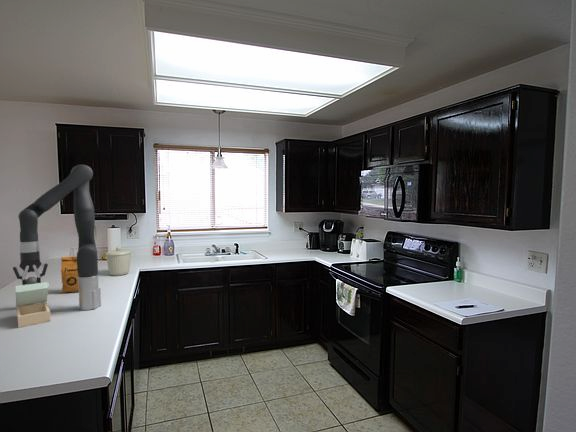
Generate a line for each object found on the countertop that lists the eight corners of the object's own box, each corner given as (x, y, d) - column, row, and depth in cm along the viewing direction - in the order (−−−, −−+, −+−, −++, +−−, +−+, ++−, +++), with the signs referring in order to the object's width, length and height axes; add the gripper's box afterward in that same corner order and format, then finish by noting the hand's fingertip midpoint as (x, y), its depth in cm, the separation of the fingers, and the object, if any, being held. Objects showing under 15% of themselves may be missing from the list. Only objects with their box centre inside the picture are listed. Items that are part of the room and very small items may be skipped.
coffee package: (83, 292, 213) (81, 257, 211) (59, 294, 209) (58, 258, 207) (87, 288, 222) (85, 254, 221) (64, 290, 218) (63, 255, 217)
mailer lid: (16, 311, 169) (15, 294, 173) (47, 305, 177) (45, 290, 181) (15, 292, 157) (14, 275, 161) (48, 287, 165) (47, 271, 169)
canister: (134, 274, 259) (133, 247, 258) (107, 278, 249) (106, 249, 247) (130, 270, 274) (129, 244, 273) (104, 273, 264) (103, 246, 262)
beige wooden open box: (17, 317, 170) (16, 307, 170) (46, 311, 178) (46, 302, 178) (18, 327, 156) (17, 316, 156) (50, 321, 164) (49, 311, 164)
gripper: (47, 248, 173) (48, 282, 174) (10, 251, 164) (12, 287, 165) (48, 250, 168) (50, 285, 168) (10, 253, 159) (12, 290, 159)
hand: (31, 285), depth 167 cm, fingers closed on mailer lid, 4 cm apart
